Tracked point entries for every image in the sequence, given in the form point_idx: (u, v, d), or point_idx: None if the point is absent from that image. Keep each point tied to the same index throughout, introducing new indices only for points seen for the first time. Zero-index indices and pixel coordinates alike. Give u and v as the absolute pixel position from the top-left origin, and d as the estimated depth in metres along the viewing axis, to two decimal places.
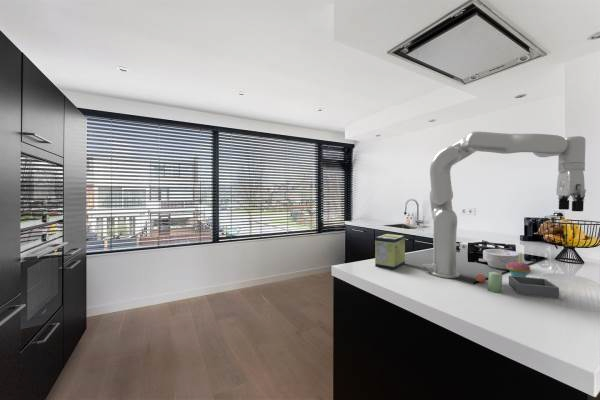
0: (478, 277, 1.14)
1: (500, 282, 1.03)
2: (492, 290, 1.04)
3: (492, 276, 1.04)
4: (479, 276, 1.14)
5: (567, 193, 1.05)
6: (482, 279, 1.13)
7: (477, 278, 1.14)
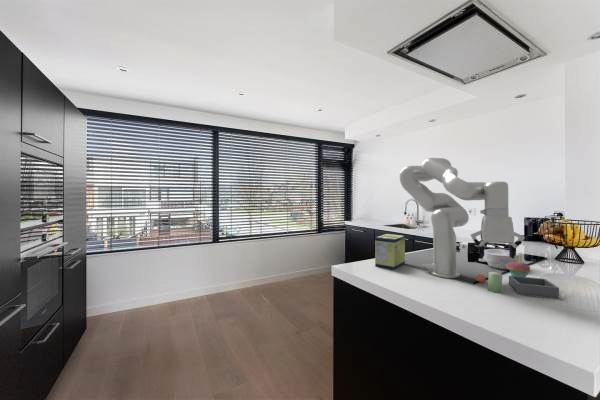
0: (478, 277, 1.14)
1: (500, 282, 1.03)
2: (492, 290, 1.04)
3: (492, 276, 1.04)
4: (479, 276, 1.14)
5: (511, 240, 1.00)
6: (482, 279, 1.13)
7: (477, 278, 1.14)
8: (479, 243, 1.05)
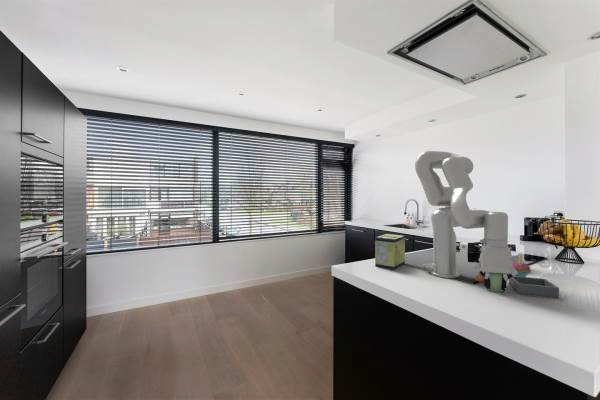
0: (478, 277, 1.14)
1: (500, 282, 1.03)
2: (492, 290, 1.04)
3: (492, 276, 1.04)
4: (479, 276, 1.14)
5: (510, 271, 1.01)
6: (482, 279, 1.13)
7: (477, 278, 1.14)
8: (485, 275, 1.05)
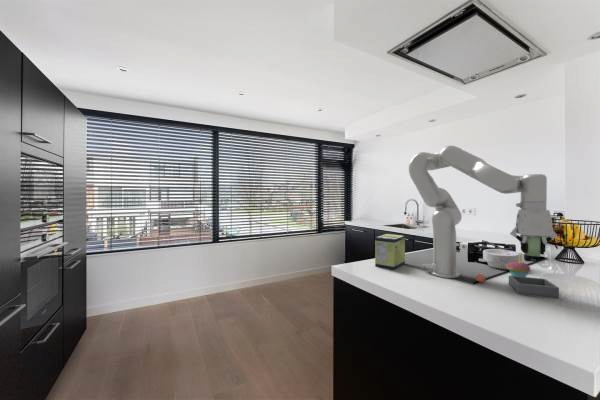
0: (478, 277, 1.14)
1: (539, 245, 1.01)
2: (530, 254, 1.02)
3: (530, 240, 1.02)
4: (479, 276, 1.14)
5: (549, 234, 0.99)
6: (482, 279, 1.13)
7: (477, 278, 1.14)
8: (522, 240, 1.03)
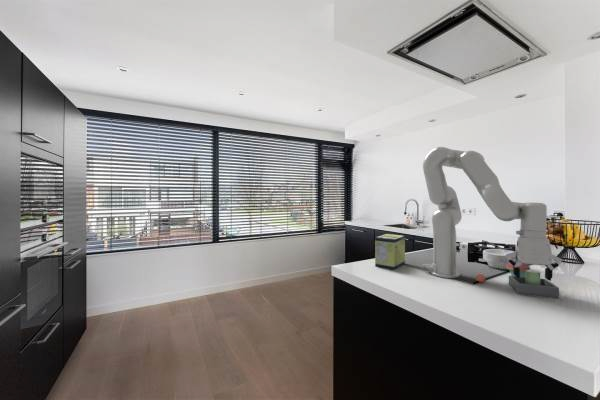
0: (478, 277, 1.14)
1: (538, 281, 1.01)
2: None
3: (530, 274, 1.02)
4: (479, 276, 1.14)
5: (549, 263, 0.99)
6: (482, 279, 1.13)
7: (477, 278, 1.14)
8: (514, 264, 1.05)
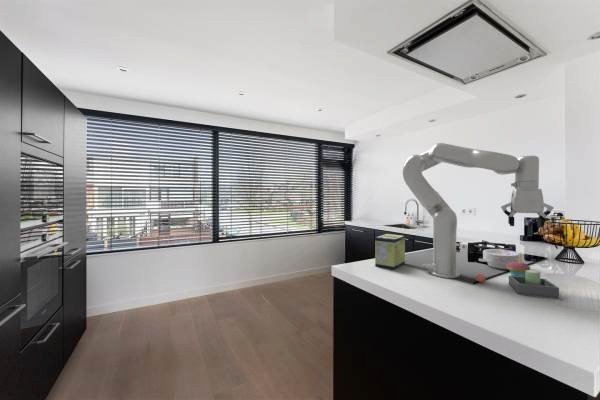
0: (478, 277, 1.14)
1: (538, 281, 1.01)
2: None
3: (530, 275, 1.02)
4: (479, 276, 1.14)
5: (541, 210, 1.07)
6: (482, 279, 1.13)
7: (477, 278, 1.14)
8: (509, 214, 1.13)
